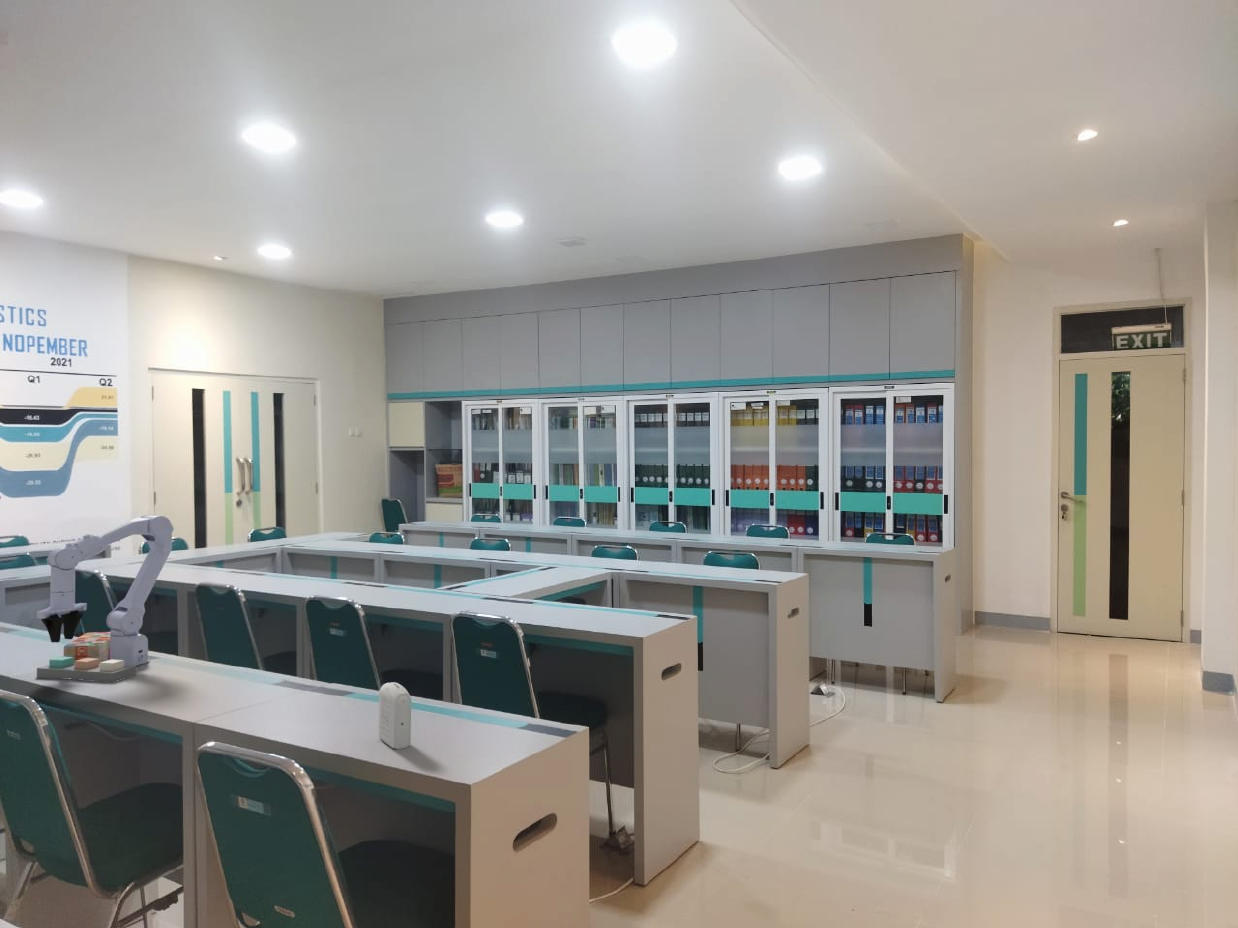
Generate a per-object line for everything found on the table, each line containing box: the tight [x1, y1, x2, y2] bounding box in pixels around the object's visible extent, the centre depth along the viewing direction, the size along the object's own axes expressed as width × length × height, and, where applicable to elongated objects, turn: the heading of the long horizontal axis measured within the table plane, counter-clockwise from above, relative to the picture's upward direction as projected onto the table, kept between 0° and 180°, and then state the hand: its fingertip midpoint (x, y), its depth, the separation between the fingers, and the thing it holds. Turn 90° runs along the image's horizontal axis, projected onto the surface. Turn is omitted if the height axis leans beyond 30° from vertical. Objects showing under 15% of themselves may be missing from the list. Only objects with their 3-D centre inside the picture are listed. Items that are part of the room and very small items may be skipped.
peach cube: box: [74, 658, 99, 669], centre depth 231 cm, size 4×4×4 cm
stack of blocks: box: [63, 631, 111, 664], centre depth 252 cm, size 21×6×12 cm
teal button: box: [48, 655, 74, 668], centre depth 232 cm, size 4×4×4 cm
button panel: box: [36, 662, 137, 683], centre depth 231 cm, size 24×8×2 cm, turn 79°
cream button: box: [100, 659, 124, 671], centre depth 229 cm, size 4×4×4 cm
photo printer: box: [378, 682, 412, 750], centre depth 178 cm, size 10×4×12 cm, turn 35°
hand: (62, 640), depth 232 cm, fingers open, 4 cm apart
